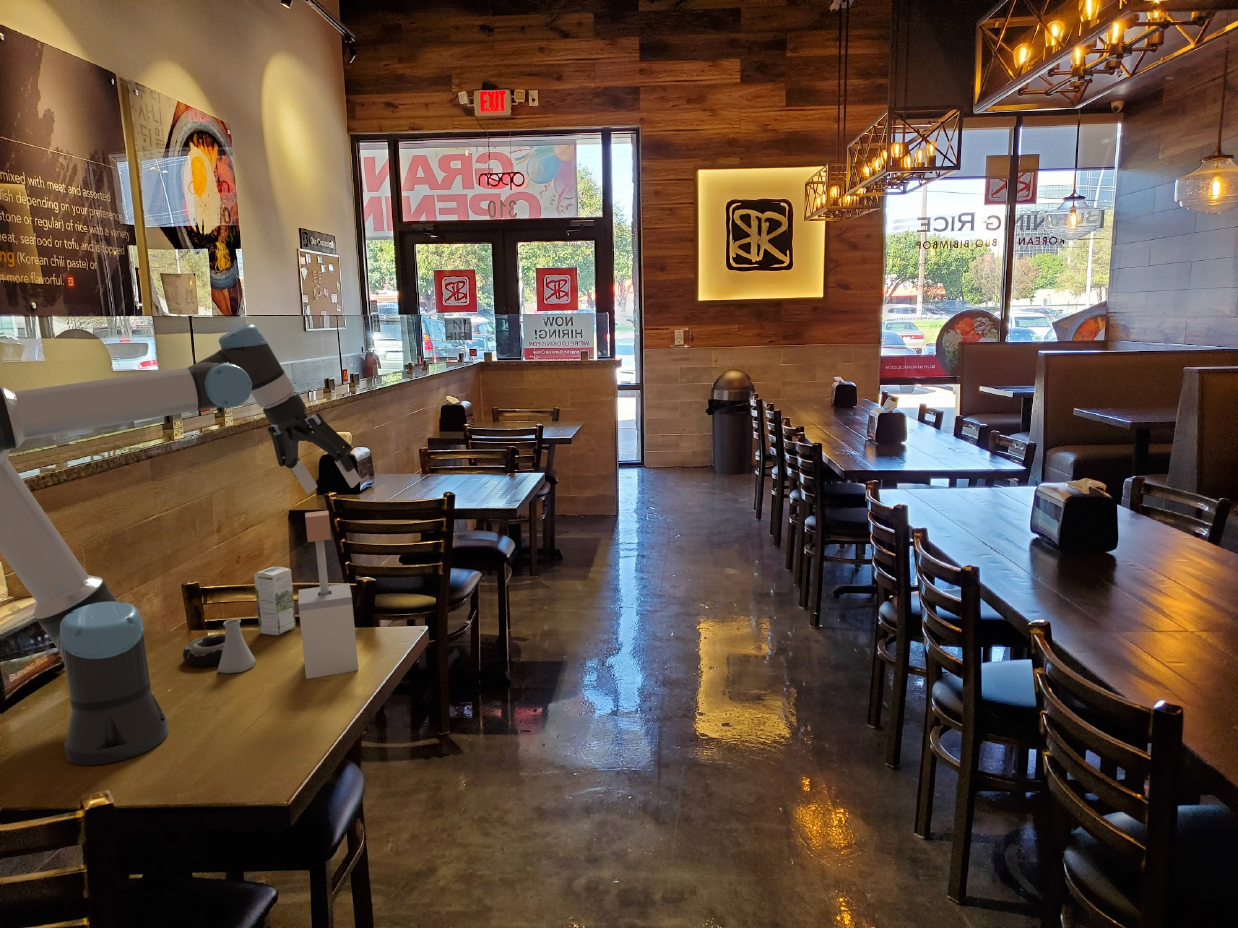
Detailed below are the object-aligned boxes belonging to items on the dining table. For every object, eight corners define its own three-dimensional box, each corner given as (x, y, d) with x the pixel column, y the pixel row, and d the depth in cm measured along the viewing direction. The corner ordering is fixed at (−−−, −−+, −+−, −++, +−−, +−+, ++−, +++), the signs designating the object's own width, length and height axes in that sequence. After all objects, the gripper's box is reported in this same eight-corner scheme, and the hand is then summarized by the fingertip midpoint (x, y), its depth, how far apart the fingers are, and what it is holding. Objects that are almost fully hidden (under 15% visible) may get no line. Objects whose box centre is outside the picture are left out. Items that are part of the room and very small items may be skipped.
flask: (262, 660, 180) (257, 615, 178) (244, 674, 172) (239, 627, 171) (230, 660, 180) (224, 615, 179) (210, 674, 173) (205, 627, 172)
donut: (214, 645, 190) (212, 628, 189) (256, 651, 186) (254, 633, 185) (171, 666, 179) (168, 648, 178) (215, 672, 175) (212, 653, 174)
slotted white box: (358, 670, 173) (351, 596, 170) (306, 678, 169) (298, 604, 167) (355, 652, 182) (349, 583, 179) (305, 660, 178) (298, 589, 176)
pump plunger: (338, 611, 172) (328, 514, 169) (315, 614, 171) (305, 517, 167) (337, 604, 176) (328, 510, 173) (314, 608, 175) (305, 512, 171)
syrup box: (277, 625, 201) (270, 565, 199) (297, 627, 199) (291, 567, 196) (259, 633, 196) (252, 572, 193) (279, 636, 194) (272, 574, 191)
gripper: (333, 380, 165) (386, 470, 174) (253, 399, 178) (306, 483, 187) (307, 399, 159) (364, 491, 168) (227, 418, 172) (283, 502, 181)
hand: (334, 487), depth 178 cm, fingers open, 13 cm apart
